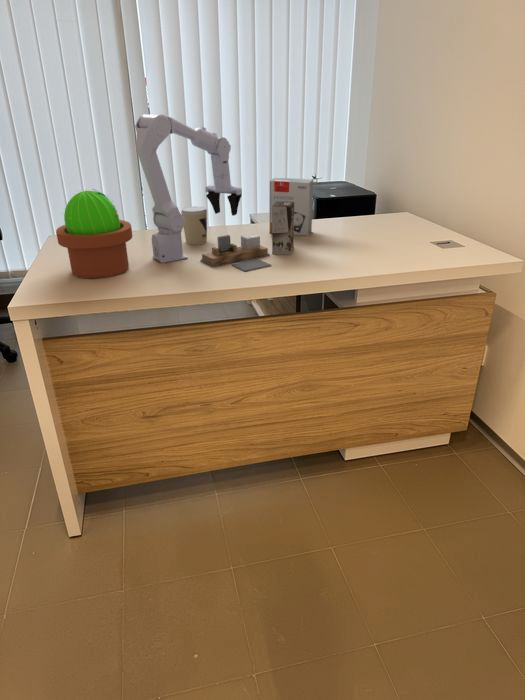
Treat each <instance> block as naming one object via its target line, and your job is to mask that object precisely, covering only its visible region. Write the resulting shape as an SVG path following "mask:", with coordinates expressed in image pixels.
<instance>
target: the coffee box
mask: <svg viewBox="0 0 525 700" xmlns="http://www.w3.org/2000/svg"><path fill="white" fill-rule="evenodd" d="M271 234H272V235H271V236H272V237H271V254H273V255H274V254H275V255H287V256H289V255H291V253H292V251H293V249H294V246H295V245H294V240H295V238H294V237H295V235H294V202H290V201H283V202H276V203H275V204H274V205H273V206H272V233H271Z"/></svg>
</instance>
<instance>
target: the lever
mask: <svg viewBox="0 0 525 700" xmlns="http://www.w3.org/2000/svg"><path fill="white" fill-rule="evenodd" d="M231 244H232V243H231V235H230V234H227V235H221V236H217V248H218V249H219V253H225V252H230V251H232V247H231Z"/></svg>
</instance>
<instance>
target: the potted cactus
mask: <svg viewBox="0 0 525 700" xmlns="http://www.w3.org/2000/svg"><path fill="white" fill-rule="evenodd" d="M113 202H114V200H111V199H110V198H109V196H107V195H106V194H105V193H103V192H101V191H99V190H96V189H94V188H92V190H83V191H82V190H80V192H78V193H75V194H74V195H73V196H72V197H71V198H70V199H69V201H67V203H66V205H65V207H63V209H64V213H62V215H64V216H63V217H64V219H63V221H64V224H63V225H61V226H59V227H58V228H56V230H55V234H56V239H57V243H58V245H59V246H60V247H63V248H66V249H67V252H68V253H67V254H68V258H69V264H70V268H71V273H72V275H74V276H76V277H78V278H82V279H101V278H102V279H103V278H108V277H114V276H115V277H116V276H118V275H120V274H123V273H125V272H127V271H128V269H129V266H130V265H129V257H128V256H129V255H128V249H127V242H129V241H131V240H132V239H133V230H132V224H131V223H130V222H129V221H127V220H123V219H120V217H119V213H118V210H117V209H116V207H115V205H114V204H113Z"/></svg>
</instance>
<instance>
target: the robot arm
mask: <svg viewBox="0 0 525 700" xmlns="http://www.w3.org/2000/svg"><path fill="white" fill-rule="evenodd" d="M134 129H135V130H136V131H135V132H136V141H135V142H136V143H135V149H136V152H137V156H138V159H139V162H140V164H141V167H142V170H143V174H144V175H145V176H144V177H145V180H146V182H147V186H148V188H149V190H150V194H151V197H152V199H153V200H152V201H153V202H154V206H153V207H152V209H151V211H152V213H153V215H152V216H153V218H152V220H153V224H154V225H155V227H157V230H158V232H157V233H156V232H155V233H153V234H152V235H151V245H152V246H151V247H152V255H153V256H152V259H155V260H156V261H157V262H160V263H162V264H165V263H169V262H175V261H180V260H185V259H188V258H189V257H188V256H187V255H185V254H184V251H183V240H182V239H183V238H182V230H184V223H185V221H184V217H183V216H182V213H181V212H180V211H179V210H180V209H179V207H178V206H177V205H176V204H175V202H174V201H173V200H172V198H171V194H170V190H169V188H168V185H167V182H166V179H165V176H164V173H163V172H164V171H163V169H162V166H161V162H160V160H159V159H160V158H159V156H158V153H157V150H158V148H159V146H160V145H161V144H162V143H163V142H164V141H165V140H166V139H167V138H168V136H169V135H172V134H173V135H178V136H181V137H182V138H185V139H188V140H190V142H191V145H193V146H194V147H197V148H199V149H201V150H203V151H206V152H207V153H208V154H209V155H210V159H211V161H210V162H211V169H212V176H213V177H212V178H213V185H206V186H205V187H204V188H205V189H204V190H205V193H207V194H206V199H208V201H209V202H210V204H211V207H212V209H213V211H214V214H219V213H221V204H220V199H221V198H220V196H221V194H227V199H228V202H229V205H230V206H229V207H230V213H231V216H232V217H234V216H236V215H237V214H238V210H239V209H238V208H239V204H240V201H241V198H242V194H243V193H242V192H243V191H242V189H243V188H241V187H236V186H232V181H231V175H230V174H231V173H230V172H231V171H230V165H229V164H230V162H229V161H230V160H229V159H230V152H231V149H232V147H231V145H232V144H230V142H229V140H228V139H227V138H226V137H222V136H218V135H217V133H215V132H210V131H209V130H207V128H206V127H203V126H200V127H196V128H192V127H191V126H189V125H186V124H185V123H182V122H181V121H179V120H177V119H175V118H173V117H171V116H166V115H164V114H147V113H144V114H142V115H140V116H139V117H138V119H137V121H136V123H135V126H134Z"/></svg>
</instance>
